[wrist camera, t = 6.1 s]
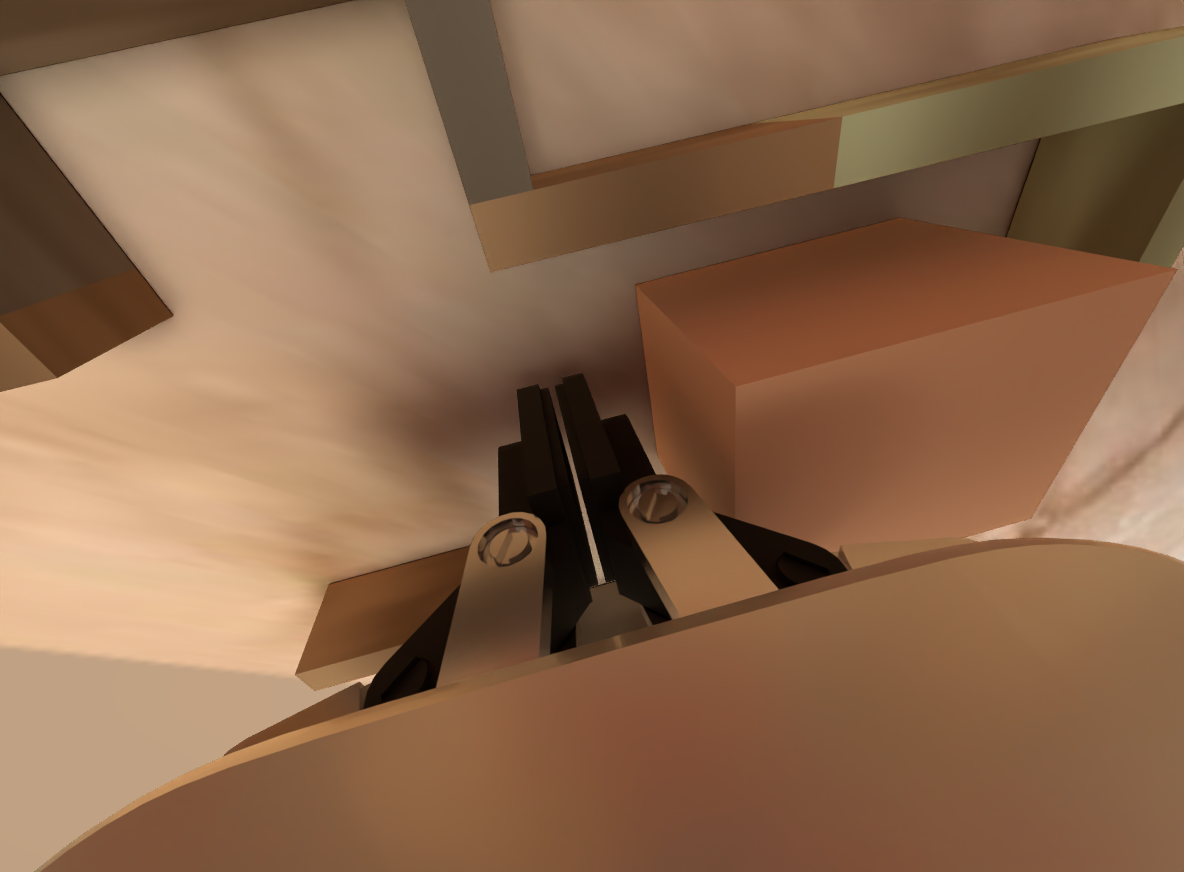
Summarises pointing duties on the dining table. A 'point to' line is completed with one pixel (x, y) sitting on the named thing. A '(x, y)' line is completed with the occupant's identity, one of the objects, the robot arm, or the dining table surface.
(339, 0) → the angular zigzag bar chain
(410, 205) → the dining table surface
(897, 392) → the block
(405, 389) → the dining table surface
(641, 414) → the dining table surface
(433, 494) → the dining table surface
